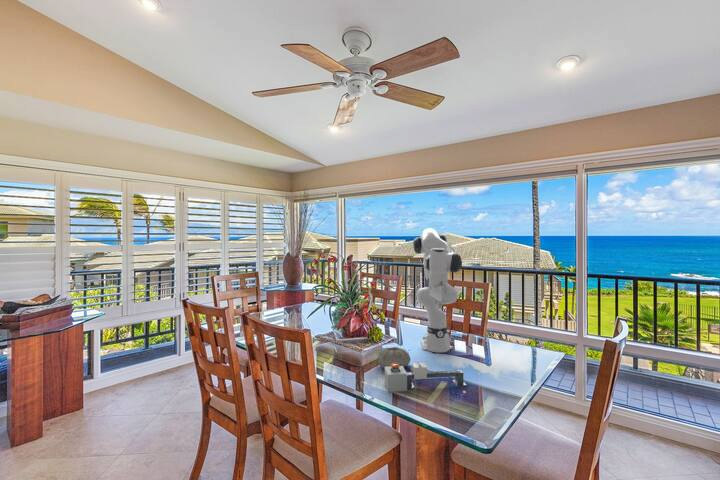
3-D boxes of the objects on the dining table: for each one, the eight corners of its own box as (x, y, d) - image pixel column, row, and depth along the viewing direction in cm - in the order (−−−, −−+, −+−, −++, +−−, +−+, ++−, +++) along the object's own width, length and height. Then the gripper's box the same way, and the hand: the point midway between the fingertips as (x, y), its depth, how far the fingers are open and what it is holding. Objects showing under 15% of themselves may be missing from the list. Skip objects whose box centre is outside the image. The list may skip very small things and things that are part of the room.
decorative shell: (382, 358, 188) (382, 341, 188) (413, 362, 182) (413, 344, 182) (373, 371, 171) (373, 352, 171) (406, 375, 165) (406, 356, 165)
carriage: (411, 374, 157) (411, 362, 156) (424, 374, 157) (424, 361, 157) (414, 379, 152) (414, 366, 151) (427, 378, 152) (426, 365, 152)
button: (390, 377, 155) (390, 362, 155) (398, 376, 156) (398, 362, 156) (391, 381, 151) (391, 366, 151) (400, 380, 151) (400, 366, 151)
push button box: (384, 383, 158) (384, 366, 157) (402, 382, 158) (402, 365, 158) (387, 392, 149) (387, 374, 148) (407, 391, 149) (406, 373, 149)
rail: (401, 383, 157) (401, 371, 157) (461, 380, 159) (461, 368, 159) (404, 389, 151) (404, 376, 151) (466, 386, 153) (466, 373, 153)
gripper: (452, 283, 151) (452, 313, 151) (438, 277, 172) (438, 303, 172) (439, 283, 151) (439, 313, 151) (426, 277, 171) (426, 304, 171)
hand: (438, 308), depth 162 cm, fingers closed
